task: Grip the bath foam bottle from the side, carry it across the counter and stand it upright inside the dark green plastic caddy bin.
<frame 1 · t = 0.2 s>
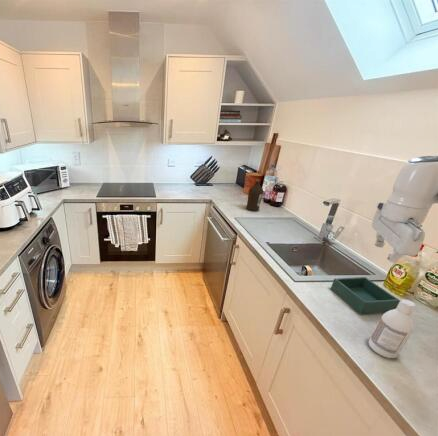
hand: (384, 253, 74), 31 cm above the worktop, tool pointing down, fingers open, 8 cm apart
bath foam: (381, 349, 78), on the worktop
caddy: (360, 299, 99), on the worktop
olive oil: (252, 209, 195), on the worktop
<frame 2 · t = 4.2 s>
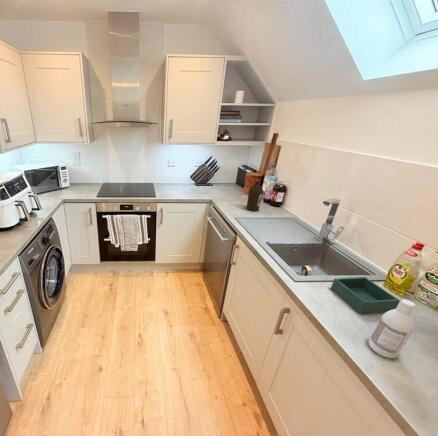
hand: (435, 291, 77), 18 cm above the worktop, tool horizontal, fingers open, 8 cm apart
nothing on the worktop moved.
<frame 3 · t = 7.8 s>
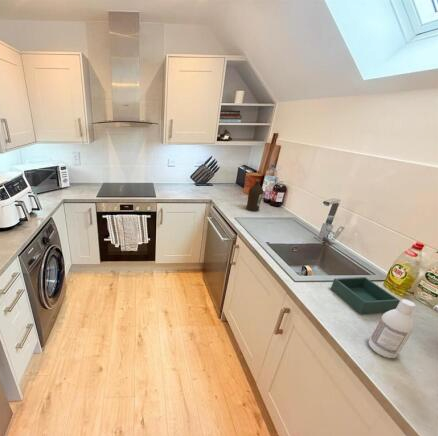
nothing on the worktop moved.
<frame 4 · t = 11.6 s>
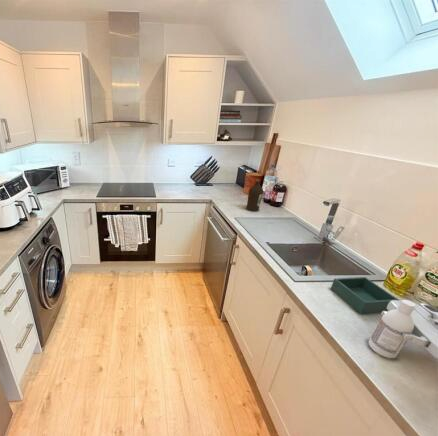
hand: (392, 324, 74), 11 cm above the worktop, tool horizontal, fingers closed on bath foam, 7 cm apart
bath foam: (381, 349, 78), on the worktop, touching gripper
everything else where it was.
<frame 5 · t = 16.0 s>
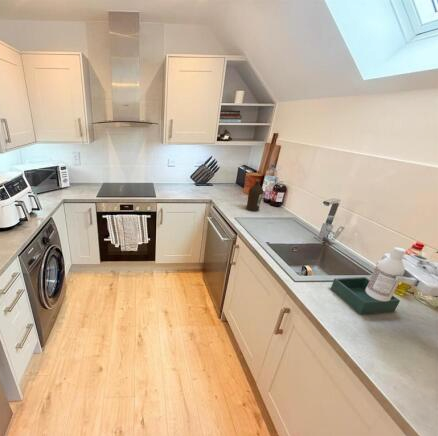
hand: (386, 270, 83), 21 cm above the worktop, tool horizontal, fingers closed on bath foam, 7 cm apart
bath foam: (376, 295, 87), point 10 cm above the worktop, touching gripper
everything else where it was.
when the fingers open (12 cm above the worktop, at t = 20.4 s): bath foam stays where it is, resting on caddy.
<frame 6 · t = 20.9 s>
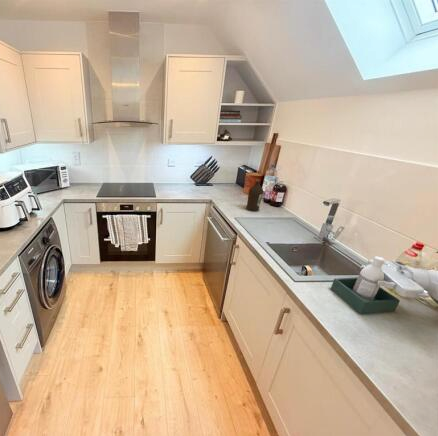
hand: (369, 274, 94), 13 cm above the worktop, tool horizontal, fingers open, 8 cm apart
bath foam: (360, 298, 99), resting on caddy
everything else where it was.
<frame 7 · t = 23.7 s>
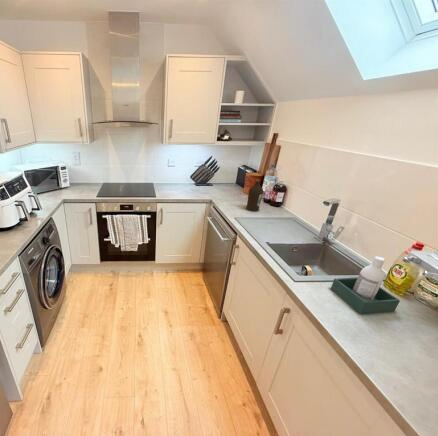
hand: (413, 266, 90), 18 cm above the worktop, tool horizontal, fingers open, 8 cm apart
nothing on the worktop moved.
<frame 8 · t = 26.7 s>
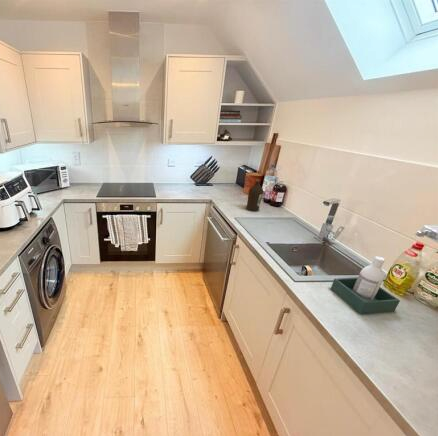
hand: (428, 239, 85), 30 cm above the worktop, tool horizontal, fingers open, 8 cm apart
nothing on the worktop moved.
at the end: bath foam inside the target area in the caddy (0.2 cm from its centre), point 0.4 cm above the caddy's base; bath foam tilted 0°; the gripper is holding nothing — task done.
